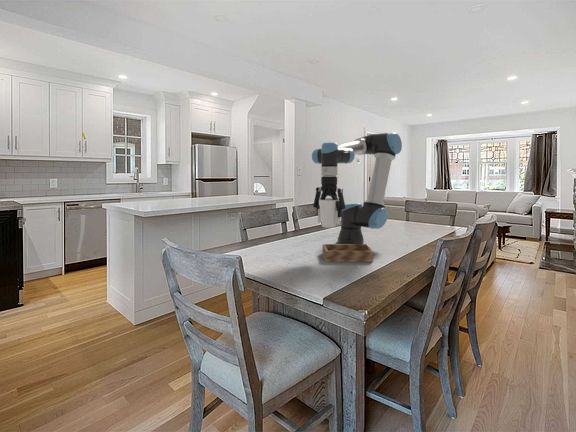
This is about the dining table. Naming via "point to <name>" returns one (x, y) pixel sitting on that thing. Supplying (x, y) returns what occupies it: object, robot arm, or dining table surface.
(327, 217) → the foam cup
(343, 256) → the walnut box
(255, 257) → the dining table surface
